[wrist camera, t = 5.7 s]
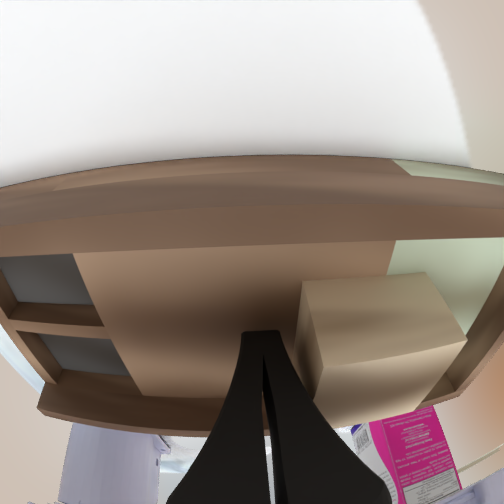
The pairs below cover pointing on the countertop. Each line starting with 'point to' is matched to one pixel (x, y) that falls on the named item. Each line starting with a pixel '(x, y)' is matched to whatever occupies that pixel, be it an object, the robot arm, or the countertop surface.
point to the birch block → (373, 345)
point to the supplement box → (409, 456)
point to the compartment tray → (227, 271)
